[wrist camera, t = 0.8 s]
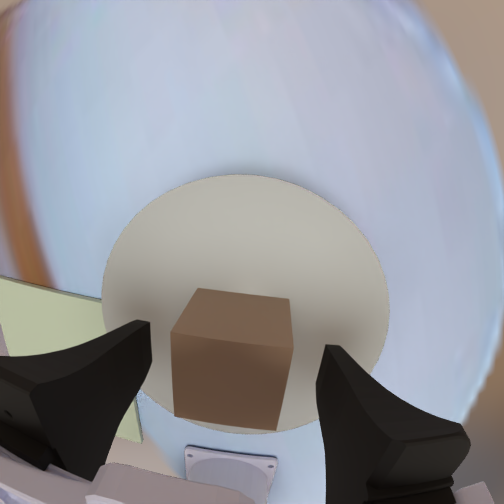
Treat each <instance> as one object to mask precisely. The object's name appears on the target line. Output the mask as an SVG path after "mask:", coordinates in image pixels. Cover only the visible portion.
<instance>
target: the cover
mask: <svg viewBox="0 0 504 504" xmlns="http://www.w3.org/2000/svg"><path fill="white" fill-rule="evenodd" d="M389 312H390V310H389V294H388V289H387V284H386V280H385V276H384V273H383V270H382V268H381V265H380V262H379V260H378V257H377V256H376V254H375V252H374V250H373V249H372V247H371V245H370V244H369V242H368V240H367V239H366V238H365V236H364V235H363V234H362V233H361V231H360V230H359V229H358V228H357V226H356V225H355V224H354V223H353V222H352V221H351V220H350V219H349V218H348V217H347V216H345V215H344V214H343V213H342V212H341V211H340V210H339V209H338V208H336V207H335V206H333V205H332V204H330V203H329V202H327V201H326V200H325V199H323V198H322V197H320V196H318V195H317V194H315V193H313V192H311V191H309V190H307V189H304V188H302V187H300V186H298V185H295V184H292V183H289V182H286V181H283V180H280V179H276V178H270V177H265V176H259V175H240V174H233V175H224V176H215V177H208V178H205V179H201V180H197V181H193V182H190V183H187V184H184V185H182V186H180V187H177V188H175V189H173V190H170V191H168V192H167V193H165V194H163V195H162V196H160V197H158V198H157V199H155V200H154V201H152V202H151V203H149V204H148V205H147V206H146V207H145V208H144V209H142V210H141V211H140V212H139V213H138V214H137V215H136V216H135V217H134V218H133V219H132V220H131V221H130V223H129V224H128V225H127V226H126V227H125V229H124V230H123V231H122V233H121V235H120V236H119V238H118V240H117V241H116V243H115V244H114V247H113V249H112V251H111V254H110V256H109V258H108V261H107V265H106V268H105V272H104V276H103V284H102V313H103V319H104V325H105V328H106V332H107V333H108V332H110V331H112V330H114V329H116V328H119V327H121V326H123V325H125V324H127V323H129V322H131V321H134V320H136V319H138V320H143V321H148V322H150V330H151V347H152V361H153V362H152V364H151V367H150V369H149V372H148V374H147V377H146V379H145V381H144V383H143V385H142V386H141V388H140V389H141V390H142V391H143V392H144V393H145V394H146V395H148V396H149V397H150V398H151V399H152V400H154V401H155V402H156V403H157V404H159V405H160V406H162V407H163V408H165V409H166V410H168V411H169V412H171V413H173V414H174V416H175V417H180V418H182V419H184V420H187V421H189V422H192V423H194V424H196V425H199V426H202V427H206V428H209V429H213V430H217V431H222V432H228V433H236V434H267V433H275V432H281V431H285V430H290V429H294V428H297V427H300V426H303V425H306V424H308V423H311V422H313V421H315V420H317V419H319V415H318V410H317V404H316V385H315V383H316V379H317V375H318V372H319V368H320V364H321V360H322V356H323V352H324V348H325V344H329V345H340V346H341V347H342V348H343V349H344V350H345V351H346V352H347V353H348V354H349V355H350V356H351V357H352V358H353V359H354V360H355V361H356V362H357V363H358V364H359V365H360V366H361V367H362V368H363V369H364V370H365V371H366V372H367V373H368V374H369V375H370V373H371V372H372V370H373V368H374V366H375V365H376V363H377V361H378V359H379V356H380V354H381V351H382V349H383V346H384V343H385V339H386V335H387V331H388V323H389Z"/></svg>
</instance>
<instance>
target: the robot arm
mask: <svg viewBox="0 0 504 504" xmlns="http://www.w3.org/2000/svg"><path fill="white" fill-rule="evenodd" d="M152 362H153V361H152V347H151V330H150V322H148V321H143V320H138V319H136V320H134V321H131V322H129V323H127V324H125V325H123V326H121V327H119V328H116V329H114V330H112V331H110V332H108V333H106V334H104V335H102V336H99V337H97V338H95V339H92V340H90V341H87V342H85V343H82V344H80V345H77V346H74V347H70V348H67V349H64V350H59V351H55V352H50V353H45V354H38V355H29V356H0V504H266V503H267V497H268V494H269V490H270V487H271V484H272V481H273V477H274V474H275V471H276V467H277V464H278V460H277V459H276V458H273V457H261V456H251V455H242V454H234V453H227V452H220V451H213V450H207V449H201V448H196V447H190V446H188V447H186V448H185V451H184V453H185V465H186V477H187V480H185V479H181V478H176V477H171V476H167V475H163V474H159V473H155V472H151V471H147V470H144V469H140V468H137V467H133V466H130V465H124V464H118V463H109V464H106V465H105V462H106V459H107V456H108V453H109V450H110V448H111V445H112V442H113V439H114V437H115V435H116V432H117V430H118V427H119V425H120V423H121V421H122V419H123V417H124V415H125V413H126V412H127V410H128V408H129V407H130V405H131V403H132V401H133V400H134V398H135V396H136V395H137V393H138V391H139V390H140V388H141V386H142V385H143V383H144V381H145V379H146V377H147V374H148V372H149V369H150V367H151V364H152ZM315 385H316V404H317V410H318V415H319V421H320V426H321V431H322V437H323V442H324V449H325V464H326V504H494V502H493V500H492V497H491V495H490V493H489V491H488V490H487V487H486V485H485V483H484V482H480V483H477V484H474V485H471V486H467V487H464V488H462V489H459V490H457V491H456V492H454V493H452V490H451V488H450V487H451V486H452V485H453V484H454V481H453V478H452V476H451V475H452V474H453V473H454V472H455V470H456V469H457V468H458V467H459V465H460V464H461V463H462V461H463V460H464V459H465V457H466V456H467V454H468V452H469V449H470V446H471V444H470V439H469V438H468V436H467V434H466V432H465V431H464V429H463V427H462V425H461V424H459V423H456V422H453V421H449V420H446V419H443V418H439V417H437V416H434V415H432V414H429V413H427V412H425V411H422V410H420V409H418V408H416V407H414V406H412V405H411V404H409V403H407V402H405V401H403V400H402V399H400V398H399V397H397V396H396V395H394V394H393V393H391V392H390V391H388V390H387V389H386V388H384V387H383V386H382V385H381V384H379V383H378V382H377V381H376V380H375V379H374V378H372V377H371V376H370V375H369V374H368V373H367V372H366V371H365V370H364V369H363V368H362V367H361V366H360V365H359V364H358V363H357V362H356V361H355V360H354V359H353V358H352V357H351V356H350V355H349V354H348V353H347V352H346V351H345V350H344V349H343V348H342V347H341V346H340V345H329V344H325V348H324V352H323V356H322V360H321V364H320V368H319V372H318V375H317V379H316V383H315Z"/></svg>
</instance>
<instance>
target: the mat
mask: <svg viewBox="0 0 504 504" xmlns="http://www.w3.org/2000/svg"><path fill="white" fill-rule="evenodd" d="M0 323H1V327H2V331H3V335H4V338H5V342H6V345H7V349H8V352H9V356H29V355H38V354H45V353H50V352H55V351H59V350H64V349H67V348H70V347H74V346H77V345H80V344H82V343H85V342H87V341H90V340H92V339H95V338H97V337H99V336H102V335H104V334H106V333H107V332H106V328H105V325H104V319H103V313H102V300H101V299H96V298H91V297H87V296H82V295H78V294H73V293H69V292H64V291H60V290H55V289H51V288H47V287H43V286H39V285H35V284H31V283H27V282H23V281H19V280H15V279H12V278H8V277H4V276H1V275H0ZM115 436H117V437H120V438H124V439H127V440H130V441H134V442H137V443H141V444H142V442H143V436H142V431H141V425H140V420H139V414H138V408H137V402H136V396H135V398H134V400H133V401H132V403H131V405H130V407H129V408H128V410H127V412H126V413H125V415H124V417H123V419H122V421H121V423H120V425H119V427H118V430H117V432H116V435H115Z"/></svg>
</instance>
